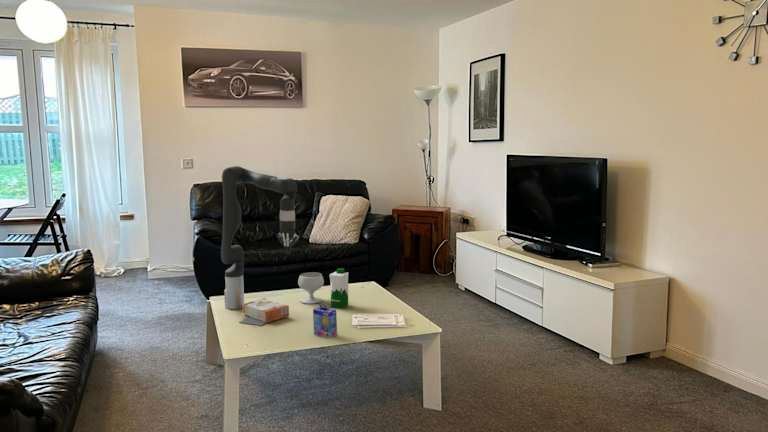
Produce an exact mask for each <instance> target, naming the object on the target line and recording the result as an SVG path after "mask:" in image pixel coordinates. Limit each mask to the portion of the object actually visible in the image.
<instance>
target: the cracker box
mask: <svg viewBox="0 0 768 432" xmlns="http://www.w3.org/2000/svg"><path fill="white" fill-rule="evenodd" d="M242 314H243V315H245V316H247V317H253V318H255V319H258V320H261V321H263V322H269V323H270V322H272V321H273V322H274V321H277V320H281V319H284V318H287V317H290V307H289V305H287V304H284V303H282V302H281V303H280V302H278V301H275V300H272V299H268V298H266V297H265V298H260V299H256V300H251V301H247V302H244V303H243V308H242Z"/></svg>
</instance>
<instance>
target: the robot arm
mask: <svg viewBox="0 0 768 432" xmlns="http://www.w3.org/2000/svg"><path fill="white" fill-rule="evenodd" d="M221 182H222V195H223V196H222V197H223V199H222V200H223V207H222V236H221V237H222V239H221V247H220V259H221V262H222V263H223V264H224V265H231V266H230V267H228V268H227V269H226V270H225V271H224V280H225V289H224V290H223V294H224V307H225V308H227V310H239V309H243V303H245V292H244V290H245V289H244V288H245V287H244V286H245V285H244V270H245V266H244V265H245V252H244V248H243V247H242V246H241V245H240V244H235V245H232V242H233V238H234V235H235V234H236V233H237V231H238V229H239V228H240V226H241V224H242V207H241V205H240V203H239V200H238V198H237V195H236V194H237V193H236V190H237V185H240V184H252V185H254V186H256V187H258V188H261V189H264V190H269V191H273V192H276V193H279V194H284V195H283V197H282V198H281V199H280V201H279V229H280V230H279V232H278V233H276V234H275V236H276V238H277V240H278V241H279V243H280V245H283V246H284V253H285V254H288V255H289V254H291V252H292V246H294V245H295V244H296V243H297V242H298V241H299V239H300V235H297V233H296V212H295V201H296V198H297V197H296V196H297V191H298V185H297V181H296V180H295V179H293V178H284V179H282V178H278V177H277V176H275V175H269V174H264V173H259V172H255V171H252V170H249V169H247V168H244V167H243V166H242V167H241V166H237V165H236V166H235V165H234V166H229V167H225V168H224V169H223V170H222V174H221Z"/></svg>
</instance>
